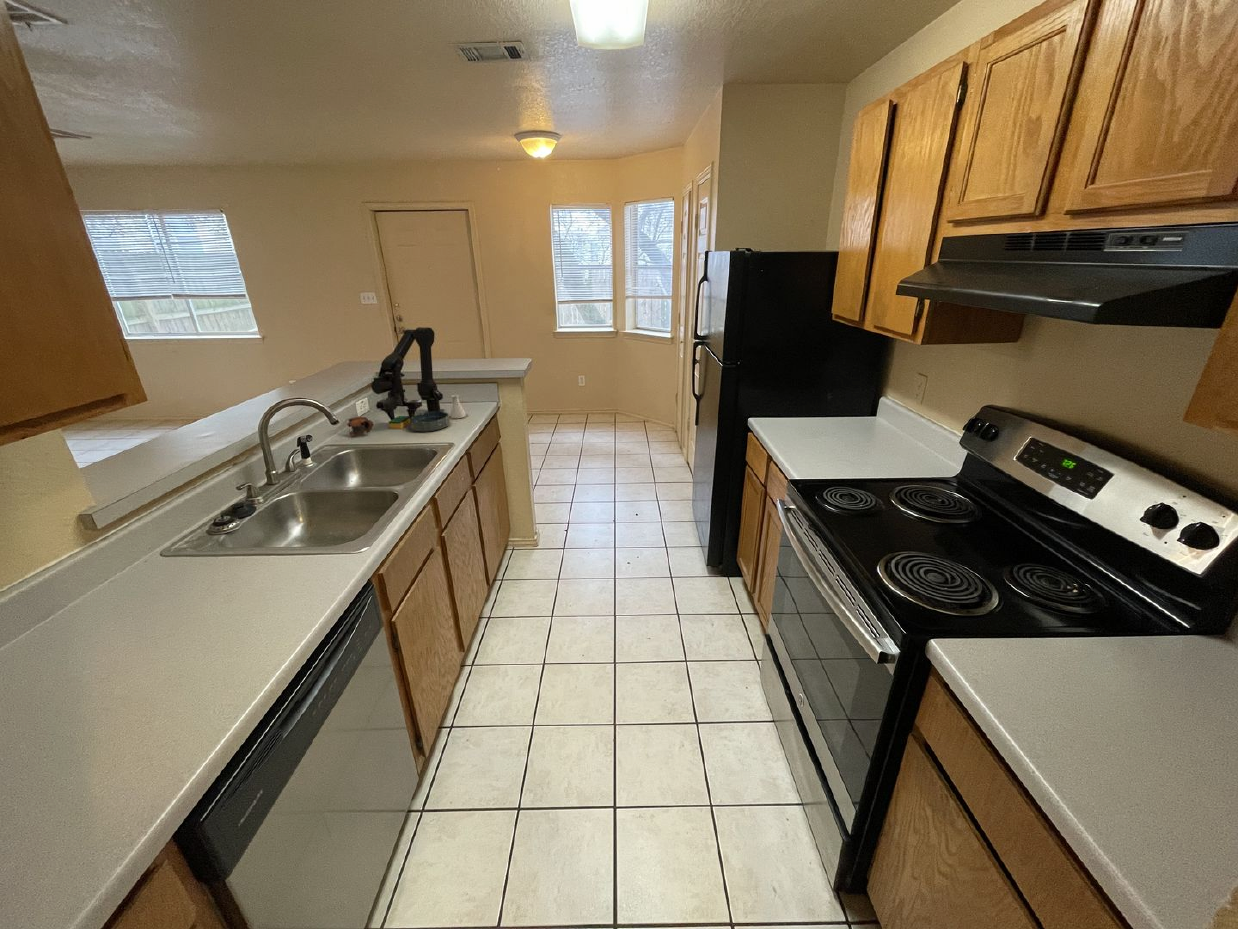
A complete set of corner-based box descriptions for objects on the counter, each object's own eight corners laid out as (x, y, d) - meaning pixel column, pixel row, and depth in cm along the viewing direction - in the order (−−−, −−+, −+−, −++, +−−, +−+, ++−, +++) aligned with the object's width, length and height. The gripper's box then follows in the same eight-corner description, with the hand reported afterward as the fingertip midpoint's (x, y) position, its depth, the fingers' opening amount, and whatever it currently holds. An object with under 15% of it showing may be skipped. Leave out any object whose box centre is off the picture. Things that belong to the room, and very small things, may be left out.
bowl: (422, 420, 230) (420, 411, 228) (456, 421, 228) (454, 411, 226) (404, 432, 215) (402, 422, 214) (440, 432, 213) (438, 422, 212)
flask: (463, 418, 231) (460, 397, 228) (448, 419, 232) (444, 397, 228) (468, 414, 238) (465, 393, 234) (453, 414, 238) (449, 393, 234)
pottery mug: (343, 438, 212) (341, 419, 213) (360, 441, 221) (358, 423, 222) (366, 432, 209) (364, 413, 210) (383, 435, 218) (381, 416, 219)
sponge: (400, 422, 230) (399, 415, 229) (411, 422, 229) (410, 415, 228) (389, 428, 221) (388, 421, 220) (401, 428, 221) (400, 421, 220)
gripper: (365, 393, 213) (372, 428, 219) (406, 393, 211) (413, 429, 216) (379, 386, 223) (386, 420, 229) (419, 387, 221) (425, 421, 227)
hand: (402, 423), depth 225 cm, fingers open, 8 cm apart
